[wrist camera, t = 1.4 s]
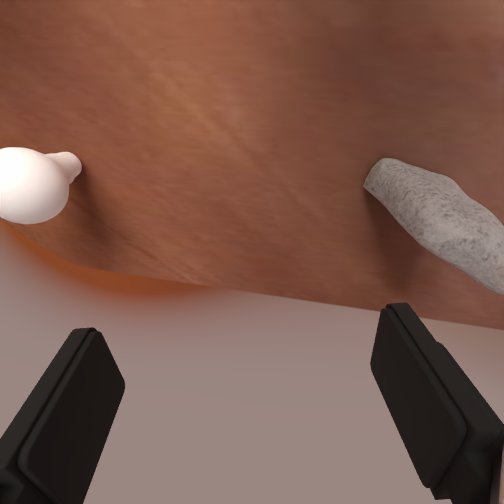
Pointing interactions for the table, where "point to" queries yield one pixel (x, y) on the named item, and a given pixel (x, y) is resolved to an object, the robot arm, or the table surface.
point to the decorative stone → (442, 219)
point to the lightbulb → (35, 184)
